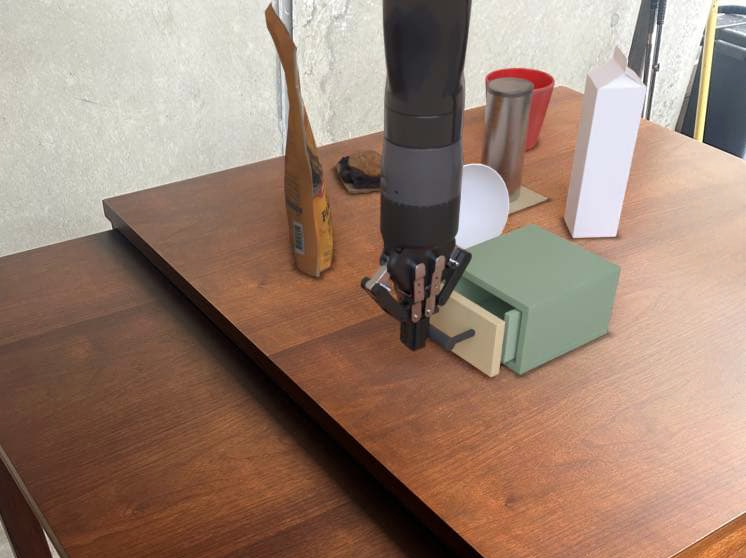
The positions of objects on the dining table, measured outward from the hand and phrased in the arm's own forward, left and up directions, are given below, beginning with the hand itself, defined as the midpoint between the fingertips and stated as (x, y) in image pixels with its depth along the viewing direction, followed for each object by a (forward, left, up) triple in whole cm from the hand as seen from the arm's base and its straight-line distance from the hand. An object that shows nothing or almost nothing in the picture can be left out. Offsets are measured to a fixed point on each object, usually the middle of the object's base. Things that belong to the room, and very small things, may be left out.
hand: (414, 346), depth 92 cm
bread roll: (-28, -46, -4) cm, 54 cm away
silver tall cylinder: (-39, -28, -4) cm, 48 cm away
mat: (-38, -28, -4) cm, 48 cm away
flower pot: (-54, -42, -4) cm, 69 cm away
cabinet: (-16, 0, -4) cm, 17 cm away
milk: (-42, -13, -4) cm, 44 cm away
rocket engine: (-27, -25, -4) cm, 37 cm away
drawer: (-10, 0, -3) cm, 10 cm away
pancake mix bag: (-7, -32, -4) cm, 33 cm away
